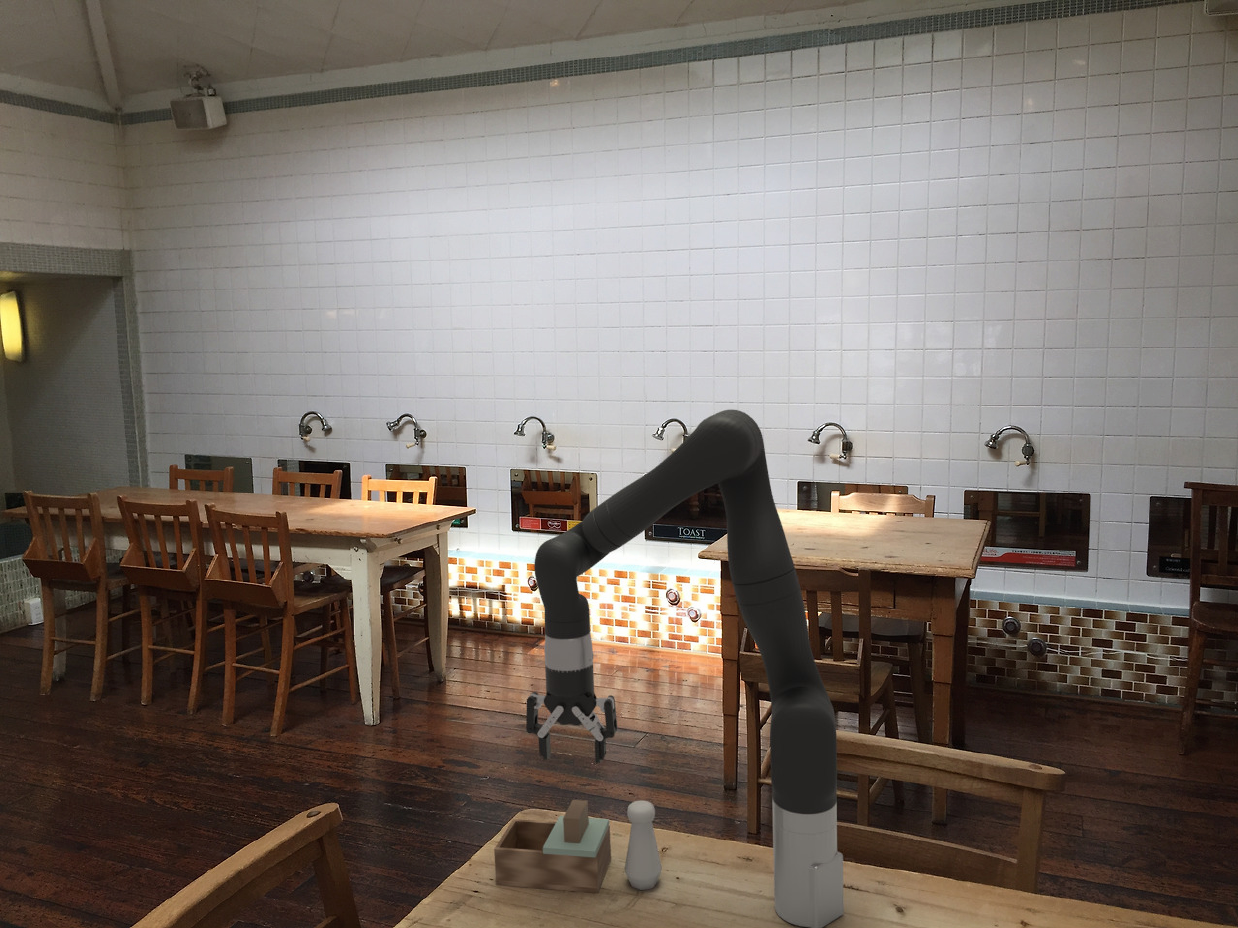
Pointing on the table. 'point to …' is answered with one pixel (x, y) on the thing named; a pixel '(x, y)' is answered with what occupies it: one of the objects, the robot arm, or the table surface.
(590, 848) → the lid
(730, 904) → the table surface
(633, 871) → the salt shaker
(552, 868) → the box
